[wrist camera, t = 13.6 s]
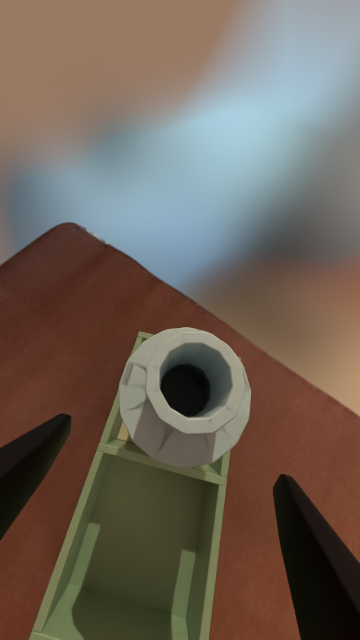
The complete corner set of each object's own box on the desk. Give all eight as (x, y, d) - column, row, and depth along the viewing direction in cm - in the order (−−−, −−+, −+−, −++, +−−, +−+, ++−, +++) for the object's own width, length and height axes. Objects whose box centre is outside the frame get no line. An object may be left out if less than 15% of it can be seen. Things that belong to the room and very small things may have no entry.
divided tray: (191, 626, 13) (201, 701, 10) (60, 586, 14) (26, 646, 10) (227, 367, 21) (241, 357, 17) (143, 344, 21) (139, 331, 18)
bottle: (161, 456, 17) (161, 555, 5) (128, 389, 19) (71, 346, 7) (220, 413, 18) (324, 410, 7) (184, 355, 20) (215, 276, 9)
